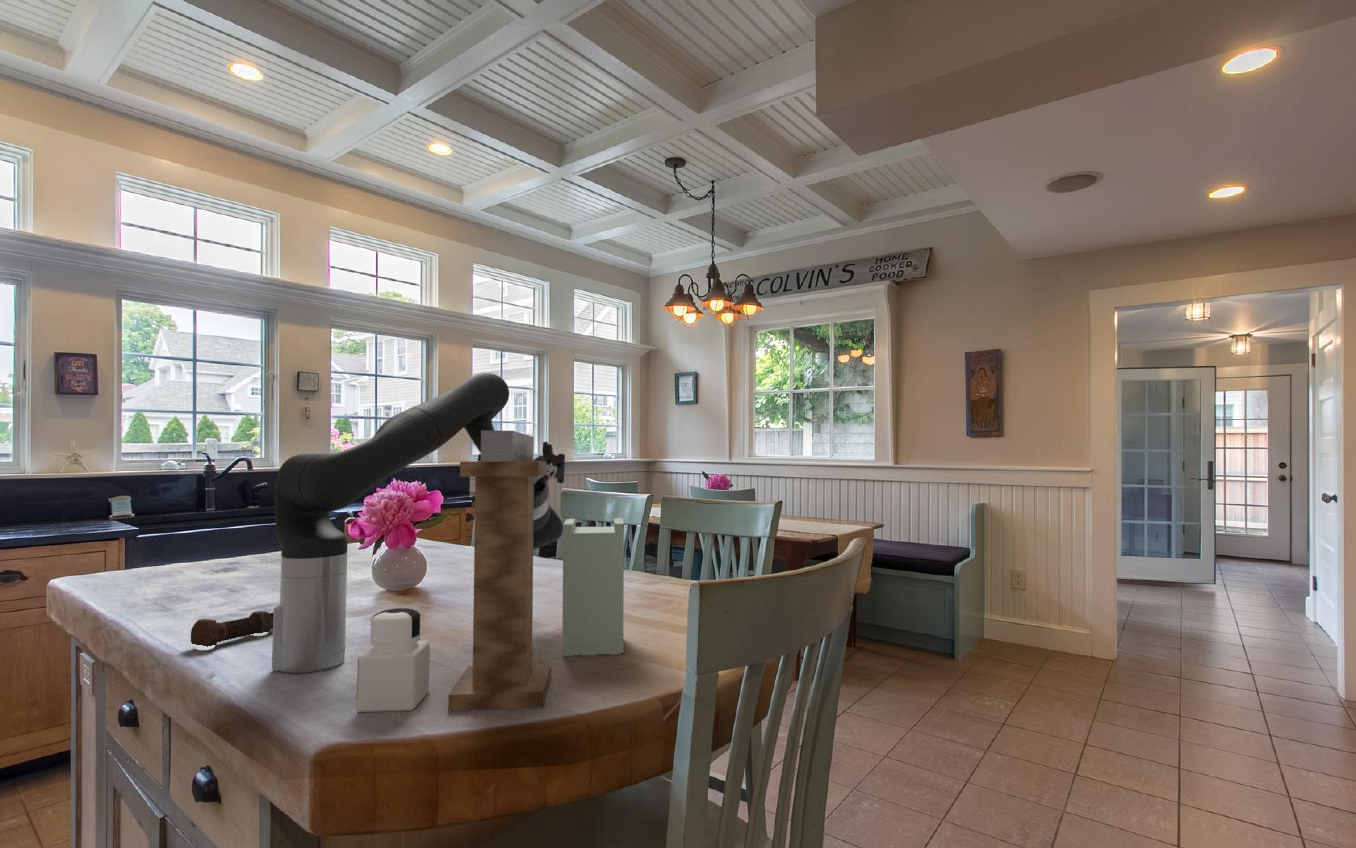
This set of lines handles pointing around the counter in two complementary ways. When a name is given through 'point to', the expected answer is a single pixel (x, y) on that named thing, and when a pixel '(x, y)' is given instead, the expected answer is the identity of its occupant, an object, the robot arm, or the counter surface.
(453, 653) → the counter surface
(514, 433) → the brushed steel bar
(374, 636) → the medicine bottle
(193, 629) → the bolt
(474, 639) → the tall column
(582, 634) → the grey tall block
